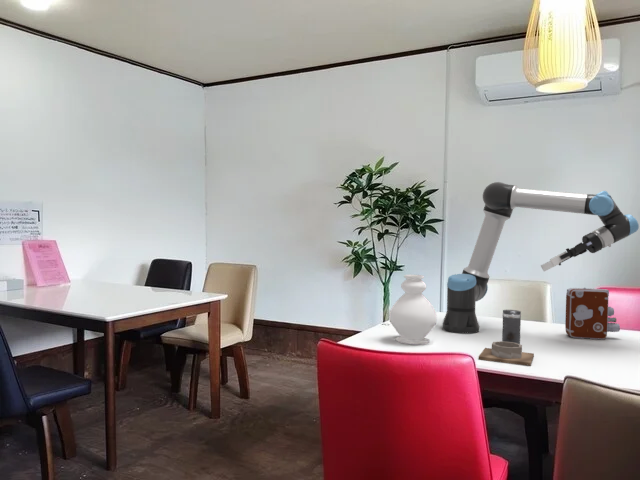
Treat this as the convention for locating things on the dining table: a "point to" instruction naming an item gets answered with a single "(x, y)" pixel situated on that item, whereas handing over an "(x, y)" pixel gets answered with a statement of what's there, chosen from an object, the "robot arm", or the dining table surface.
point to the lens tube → (511, 326)
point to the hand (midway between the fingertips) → (546, 265)
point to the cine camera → (589, 313)
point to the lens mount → (507, 353)
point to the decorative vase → (413, 312)
